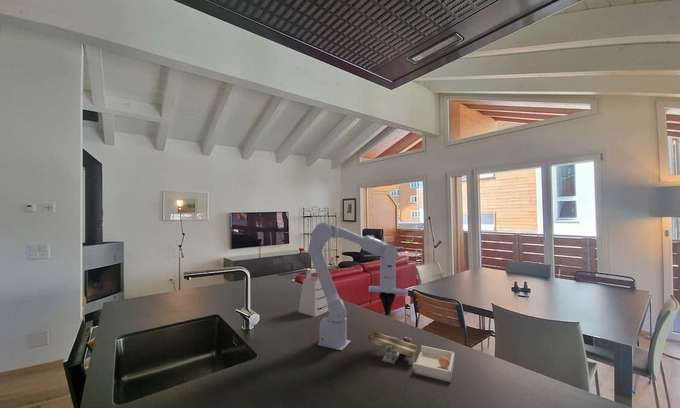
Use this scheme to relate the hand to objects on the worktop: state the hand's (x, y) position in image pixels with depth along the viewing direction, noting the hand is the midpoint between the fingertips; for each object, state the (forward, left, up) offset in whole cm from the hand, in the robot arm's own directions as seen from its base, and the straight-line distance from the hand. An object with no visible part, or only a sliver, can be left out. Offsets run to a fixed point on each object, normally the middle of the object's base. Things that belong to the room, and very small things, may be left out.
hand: (387, 313), depth 106 cm
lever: (+4, -7, -7) cm, 11 cm away
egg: (+21, -10, -8) cm, 24 cm away
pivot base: (+7, -10, -10) cm, 16 cm away
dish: (+18, -10, -10) cm, 23 cm away
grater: (-42, +17, -11) cm, 47 cm away
